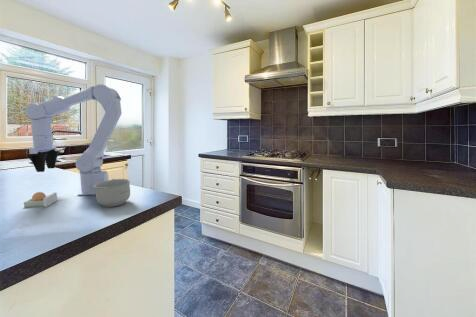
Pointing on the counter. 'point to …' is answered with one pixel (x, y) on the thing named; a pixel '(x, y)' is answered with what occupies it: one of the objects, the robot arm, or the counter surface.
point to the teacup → (112, 192)
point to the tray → (33, 203)
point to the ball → (38, 196)
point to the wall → (50, 199)
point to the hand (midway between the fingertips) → (46, 169)
